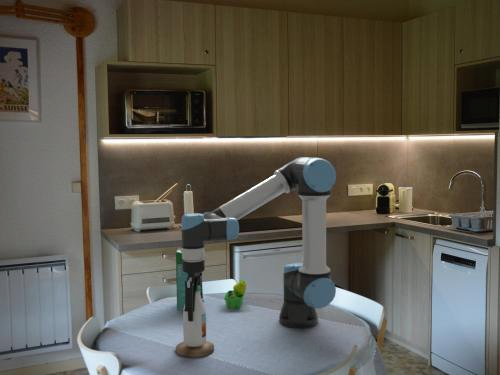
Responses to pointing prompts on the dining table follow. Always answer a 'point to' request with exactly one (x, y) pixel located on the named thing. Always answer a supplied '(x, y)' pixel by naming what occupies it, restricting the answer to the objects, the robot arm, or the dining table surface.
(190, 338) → the milk bottle
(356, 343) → the dining table surface
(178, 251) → the milk carton
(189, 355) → the disc
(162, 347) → the dining table surface
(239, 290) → the green pot with sprout
